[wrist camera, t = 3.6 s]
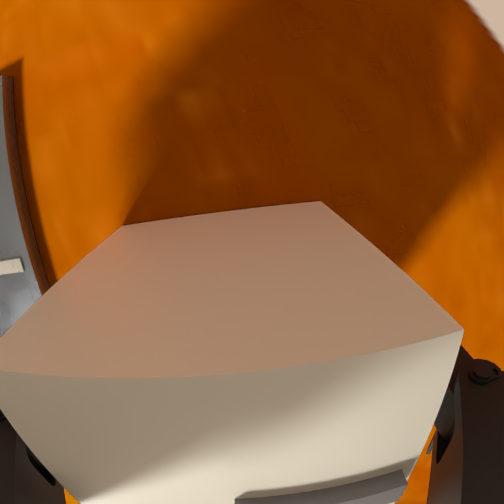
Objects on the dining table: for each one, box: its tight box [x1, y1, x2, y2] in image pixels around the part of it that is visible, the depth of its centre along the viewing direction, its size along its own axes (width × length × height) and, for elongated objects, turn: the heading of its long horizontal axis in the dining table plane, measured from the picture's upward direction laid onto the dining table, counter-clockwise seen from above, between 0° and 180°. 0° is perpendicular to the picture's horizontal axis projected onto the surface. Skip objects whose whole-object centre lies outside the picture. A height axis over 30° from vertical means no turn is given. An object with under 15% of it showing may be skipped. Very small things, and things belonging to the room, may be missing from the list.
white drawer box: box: [0, 201, 464, 504], centre depth 9 cm, size 7×7×9 cm
